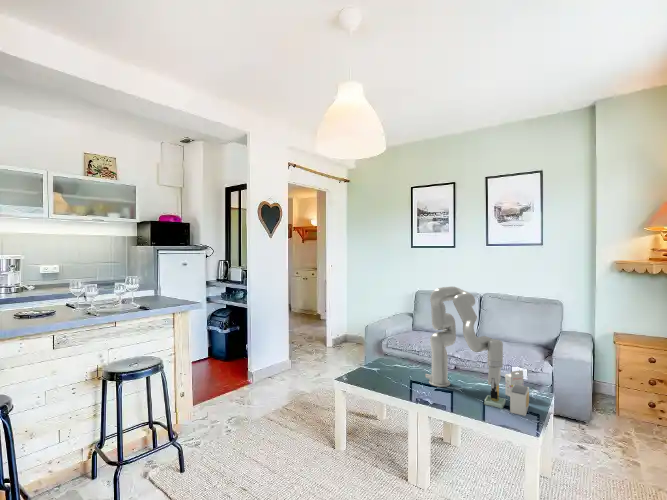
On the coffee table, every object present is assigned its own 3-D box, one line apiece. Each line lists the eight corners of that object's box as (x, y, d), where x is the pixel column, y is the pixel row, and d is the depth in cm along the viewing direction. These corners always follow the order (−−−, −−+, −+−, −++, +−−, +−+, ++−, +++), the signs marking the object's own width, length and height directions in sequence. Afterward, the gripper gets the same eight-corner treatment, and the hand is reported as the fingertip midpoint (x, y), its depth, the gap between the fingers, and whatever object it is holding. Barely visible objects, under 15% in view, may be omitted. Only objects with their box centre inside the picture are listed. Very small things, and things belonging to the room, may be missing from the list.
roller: (490, 400, 196) (490, 385, 196) (491, 397, 199) (491, 383, 199) (498, 402, 194) (498, 387, 194) (499, 399, 197) (499, 384, 197)
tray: (484, 404, 195) (484, 400, 195) (487, 398, 203) (487, 395, 203) (502, 408, 190) (502, 404, 190) (505, 402, 198) (505, 398, 198)
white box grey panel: (510, 412, 186) (510, 391, 186) (514, 402, 198) (514, 383, 198) (526, 416, 182) (526, 395, 182) (529, 406, 193) (529, 386, 193)
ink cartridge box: (517, 392, 211) (517, 367, 211) (523, 396, 206) (523, 370, 206) (504, 394, 209) (504, 368, 209) (511, 397, 204) (511, 371, 204)
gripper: (490, 357, 205) (490, 390, 206) (484, 365, 192) (484, 400, 192) (505, 360, 201) (505, 393, 201) (499, 368, 187) (499, 404, 188)
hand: (494, 396), depth 197 cm, fingers closed on roller, 3 cm apart
